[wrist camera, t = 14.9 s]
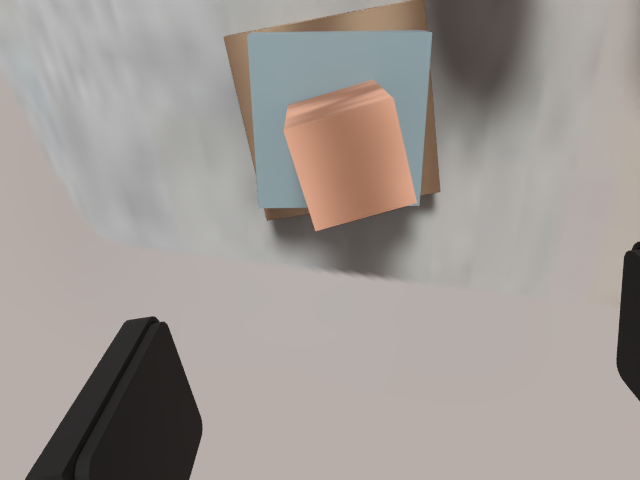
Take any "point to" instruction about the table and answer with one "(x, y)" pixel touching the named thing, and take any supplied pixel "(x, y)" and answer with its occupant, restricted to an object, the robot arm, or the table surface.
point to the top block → (327, 76)
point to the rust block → (349, 154)
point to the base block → (371, 19)
